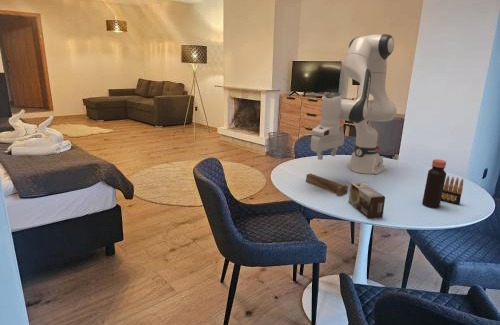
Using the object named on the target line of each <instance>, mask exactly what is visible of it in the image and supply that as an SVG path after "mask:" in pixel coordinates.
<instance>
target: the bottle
mask: <svg viewBox="0 0 500 325" xmlns="http://www.w3.org/2000/svg"><path fill="white" fill-rule="evenodd" d="M446 165H447V161H445V160H442V159H433V160H432V164H431V168H430V169H429V170H428V171H427V172H428V173H427V175H426V176H427V177H426V182H425V185H424V186H425V187H424V191H423V197H422V202H421V204H422V205H423V206H424V207H426V208H430V209H439V208H440V206H441V202H442V201H441V198H442V193H443V188H444V185H445V183H446V179H447V172H446V171H445V170H444V169H446Z"/></svg>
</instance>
